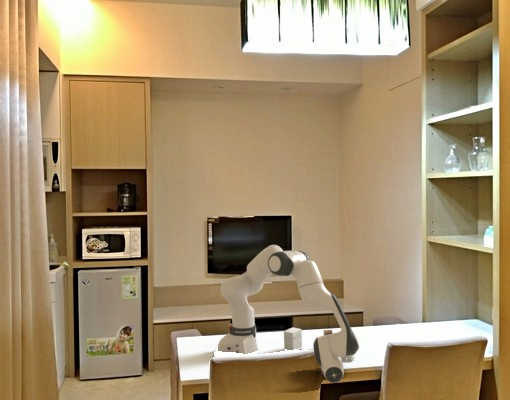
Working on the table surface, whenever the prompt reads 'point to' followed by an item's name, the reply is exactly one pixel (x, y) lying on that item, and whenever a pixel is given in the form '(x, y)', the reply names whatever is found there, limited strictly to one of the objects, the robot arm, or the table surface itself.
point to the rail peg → (328, 332)
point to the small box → (293, 339)
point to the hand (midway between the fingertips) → (329, 349)
